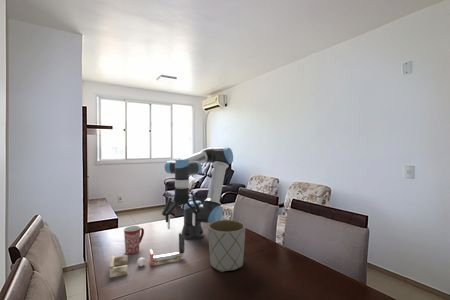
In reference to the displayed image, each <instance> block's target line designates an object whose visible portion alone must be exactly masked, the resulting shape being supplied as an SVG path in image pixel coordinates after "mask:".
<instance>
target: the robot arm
mask: <svg viewBox="0 0 450 300" xmlns="http://www.w3.org/2000/svg"><path fill="white" fill-rule="evenodd" d="M232 150H233V149H232V148H231V147H227V146H226V147H225V146H221V147H220V146H219V147H218V146H217V147H216V146H215V147H214V146H213V147H211V146H210V147H208V148H207V147H206V148H204V149H201V150H198V151H197V152H196V153H194V154H191V155H188V156H185V157H183V158H176V159H175V160H169V161H168V160H167V161H166V162H165V164H164V171H165V172H166V173H167V174H171V175H172V174H173V175H174V195H173V196H168V199H167V203H166V204H165V207H164V208H163V210H162V212H161V215H162V216H164V217H165V223H167V230H170V229H171V216H170V215H171V213H172V212H173V211H174V210H175V208H176V207H177V206H181V205H183V226H182V229H181V232H180V233H185V240H198V239H202V238H203V237H204V236H205V235H204V233H205V232H204V228H203V226H202V223H203V224H204V223H206V224H208V225H209V224H210V223H212V222H214V221H219V220H222V217H223V214H224V210H223V209H224V208H223V207H222V203H221V202H220V200H221V195H222V190H223V185H224V180H225V174H226V171H227V169H228V168H229V165H230V164H232V163H233V161H234V153H233V151H232ZM205 163H206V164H207V163H209V164H211V163H212V165H213V171H212V174H211V179H210V183H209V189H208V192H207V197H206V199H204V201H203V203H202V201H201V200H196V199H195V195H193V194H192V195H190V193H189V192H190V188H189V186H190V176H193V175H194V176H195V175H198V174H201V172H202V170H203V168H202V167H203V166H202V164H205ZM189 200H191V201H189ZM173 201H174V202H173ZM172 202H173V204H172V205H171V203H172ZM170 205H171V207H170ZM169 207H170V208H169Z"/></svg>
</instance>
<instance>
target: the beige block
mask: <svg viewBox="0 0 450 300" xmlns="http://www.w3.org/2000/svg"><path fill="white" fill-rule="evenodd" d="M109 263H110V264H109V278H115V277H116V278H117V277H120V276H126V275H128V254H125V255H119V256H115V255H114V254H113V255H111V256H110V261H109Z"/></svg>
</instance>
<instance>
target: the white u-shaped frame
mask: <svg viewBox="0 0 450 300" xmlns="http://www.w3.org/2000/svg"><path fill="white" fill-rule="evenodd" d="M185 240H186V239H185V233H181V232H179V233H178V251H175V252H171V253H165V254H159V255H156V256H155V255H154V251H153V249H152V248H151V249H149V265H150V267H153V259H156V258H157V261H161V260H167V259H172V258H177V255H179V254H181V258H182V257H185V243H186V242H185Z"/></svg>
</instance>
